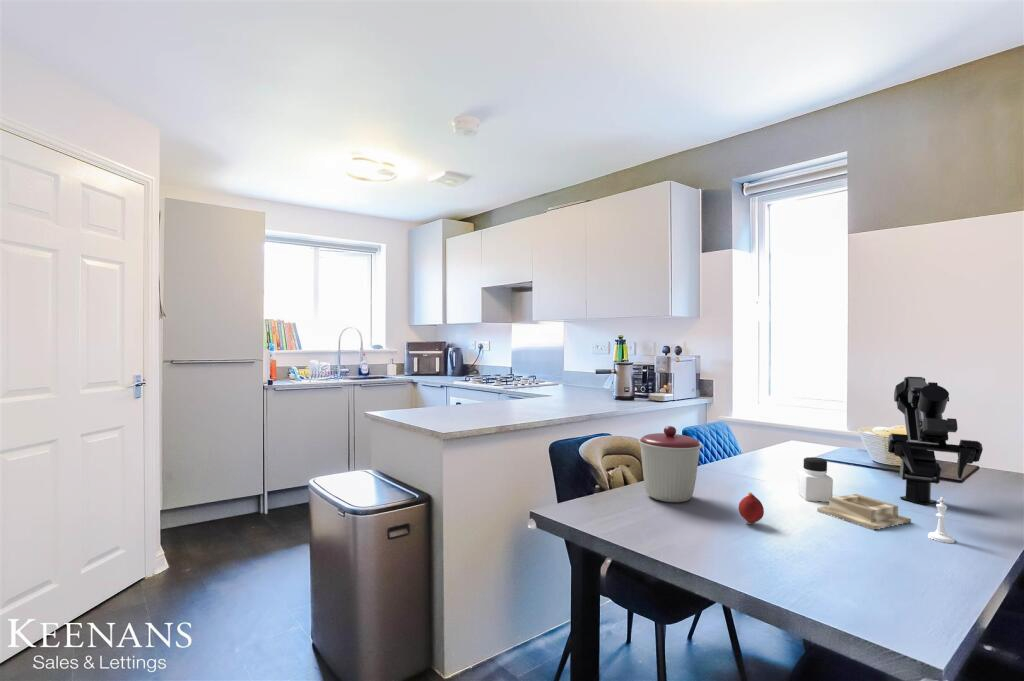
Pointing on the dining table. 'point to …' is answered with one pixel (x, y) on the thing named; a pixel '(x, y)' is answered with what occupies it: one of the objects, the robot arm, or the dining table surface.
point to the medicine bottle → (815, 480)
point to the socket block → (864, 511)
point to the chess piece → (941, 525)
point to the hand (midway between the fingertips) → (936, 474)
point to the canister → (669, 465)
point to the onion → (751, 508)
